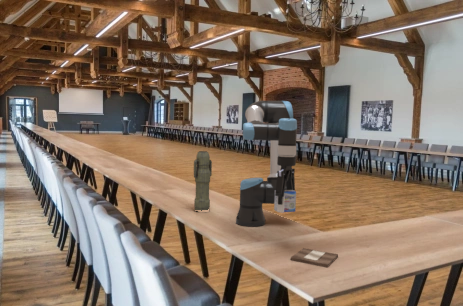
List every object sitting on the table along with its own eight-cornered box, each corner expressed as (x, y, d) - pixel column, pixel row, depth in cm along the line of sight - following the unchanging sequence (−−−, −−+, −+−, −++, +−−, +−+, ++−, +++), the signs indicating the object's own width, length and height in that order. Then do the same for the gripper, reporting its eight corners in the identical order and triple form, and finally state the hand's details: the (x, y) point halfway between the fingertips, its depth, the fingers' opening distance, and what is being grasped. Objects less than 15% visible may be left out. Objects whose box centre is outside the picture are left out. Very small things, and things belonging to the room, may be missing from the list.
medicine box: (278, 212, 161) (278, 191, 161) (273, 210, 166) (274, 189, 165) (295, 211, 163) (296, 191, 163) (291, 209, 168) (291, 189, 167)
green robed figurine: (214, 210, 233) (215, 151, 231) (199, 213, 224) (200, 152, 222) (204, 208, 239) (205, 150, 237) (189, 211, 230) (190, 151, 228)
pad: (303, 250, 160) (303, 247, 160) (337, 256, 153) (338, 253, 153) (290, 260, 148) (290, 256, 148) (327, 267, 141) (327, 263, 141)
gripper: (287, 154, 174) (285, 205, 176) (267, 156, 156) (266, 213, 157) (304, 155, 170) (302, 207, 172) (285, 157, 152) (283, 216, 153)
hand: (284, 210), depth 164 cm, fingers closed on medicine box, 8 cm apart
